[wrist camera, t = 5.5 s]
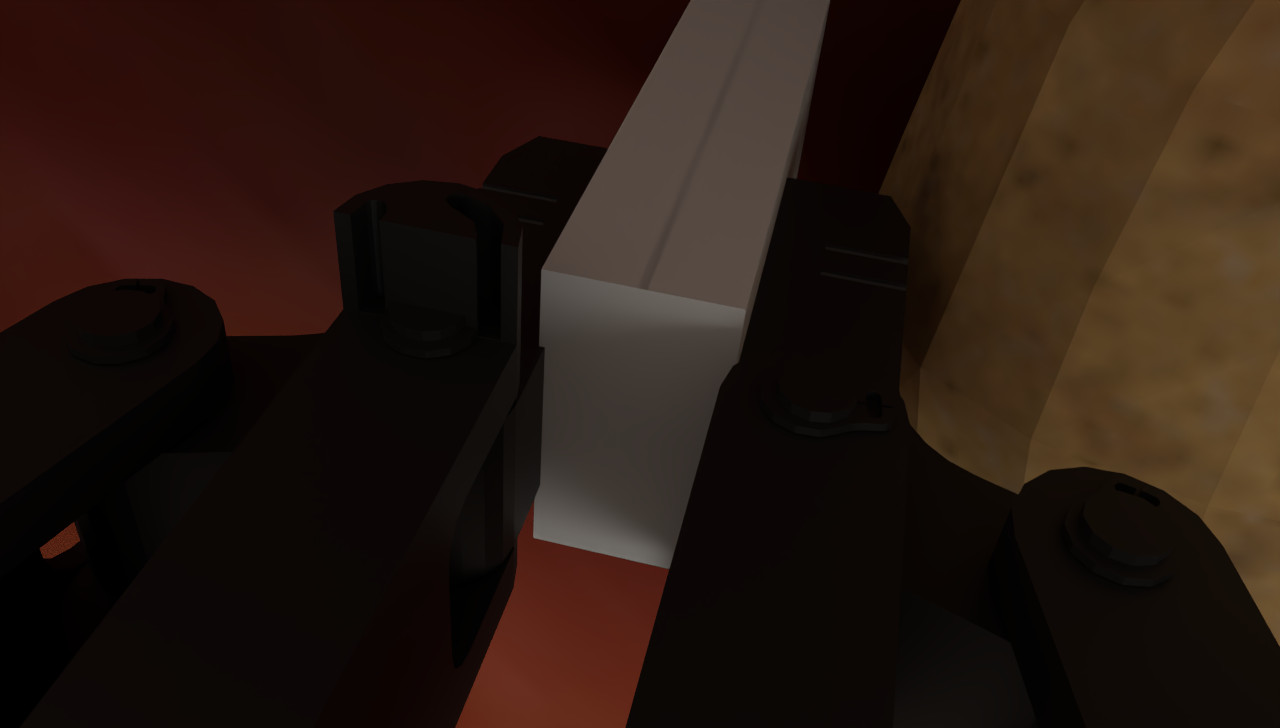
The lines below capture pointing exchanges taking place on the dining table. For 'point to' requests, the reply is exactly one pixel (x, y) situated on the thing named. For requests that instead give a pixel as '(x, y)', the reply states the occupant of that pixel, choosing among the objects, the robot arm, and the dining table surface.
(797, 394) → the robot arm
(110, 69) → the dining table surface
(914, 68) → the dining table surface
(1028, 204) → the potato
